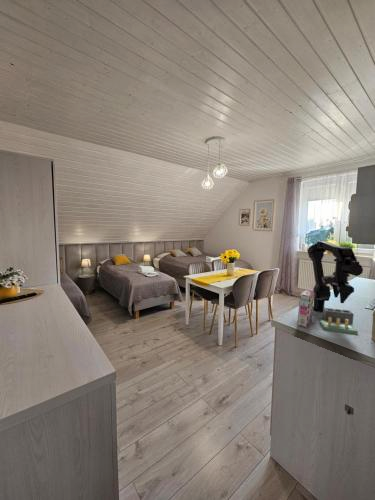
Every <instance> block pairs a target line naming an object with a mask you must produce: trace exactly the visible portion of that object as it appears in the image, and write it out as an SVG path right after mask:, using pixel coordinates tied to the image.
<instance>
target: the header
mask: <svg viewBox="0 0 375 500" xmlns="http://www.w3.org/2000/svg"><path fill="white" fill-rule="evenodd" d="M348 321H349V320H348V319H345V323H340V318H337V321H336V322H332V318H331V317H329V318H328V321H324V319H323V320H322V319H321V320H320V319H319V324H320V326H321V328H322V329H323V330H324V331H332V332H337V333H338V332H339V333H346V334H347V333H348V334H353V335H355V334H356V335H358V333H359V332H358V331H359V330H357V328H356V327H355V326H353V325H352V324H348Z"/></svg>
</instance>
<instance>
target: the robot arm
mask: <svg viewBox="0 0 375 500" xmlns="http://www.w3.org/2000/svg"><path fill="white" fill-rule="evenodd" d="M326 251H327V252H330V253H331V254H332V256H334V257H335V258H334V259H333V262H335V269H334V271H333V273H332V274H330V275H329V274H327V275H326V276H325V273H324V266H323V262H322V260H323V258H324V255H325V254H324V253H325V252H326ZM307 255H308V257H309V259H310V260H311V261H312V267H313V275H314V281H315V283H314V287H313V292H314V302H313V311H315V312H323V308H325V302H328V301H330V298H331V296H332V295H331V293H332V292H331V288H330V286H331V287H332V290H333V296H334V298H338V296H339V299H340V300H339V302H340V304H344V303H345V302H346V300H347V299H348V298H349V297H350V296H351V295H352V294H354V293H355V288H354V286H352V285H350V283H349V281H348V280H349V277H350V276H355V277H357V276H360V275H362V274H363V273H364V268H363V266H362V265H361V264H360V261H358V260H357V257H356V255H355V252H354V251H353V249H352V248H351V247H348V246H338V245H336V244H333V243H331V242H329V241H327V240H319V241H317V242H316V243H313V244H312V245H310V246H309V247H308V248H307ZM329 285H330V286H329Z"/></svg>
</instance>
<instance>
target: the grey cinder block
mask: <svg viewBox="0 0 375 500" xmlns="http://www.w3.org/2000/svg"><path fill="white" fill-rule="evenodd" d="M329 317H331V318H332V322H336V321H337V318H340V323H345V319H348V320H349V321H348V324H352V326H353V324H354V313H353V312H352V311H351V310H349V309H339V308H330V307H329V308H328V307H324V308H323V311H322V319H323V321H328V318H329Z"/></svg>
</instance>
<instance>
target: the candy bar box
mask: <svg viewBox="0 0 375 500" xmlns="http://www.w3.org/2000/svg"><path fill="white" fill-rule="evenodd" d="M313 304H314V292H313V291H312V290H306V289H305V290H303V291H302V292H301V293H300V294H299V302H298V312H297V324H296V325H297V326H299V327H303V328H305V329H306V328H308V327H309V326H310V324H311V323H312V321H313V313H314V312H313V311H314V310H313Z"/></svg>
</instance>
